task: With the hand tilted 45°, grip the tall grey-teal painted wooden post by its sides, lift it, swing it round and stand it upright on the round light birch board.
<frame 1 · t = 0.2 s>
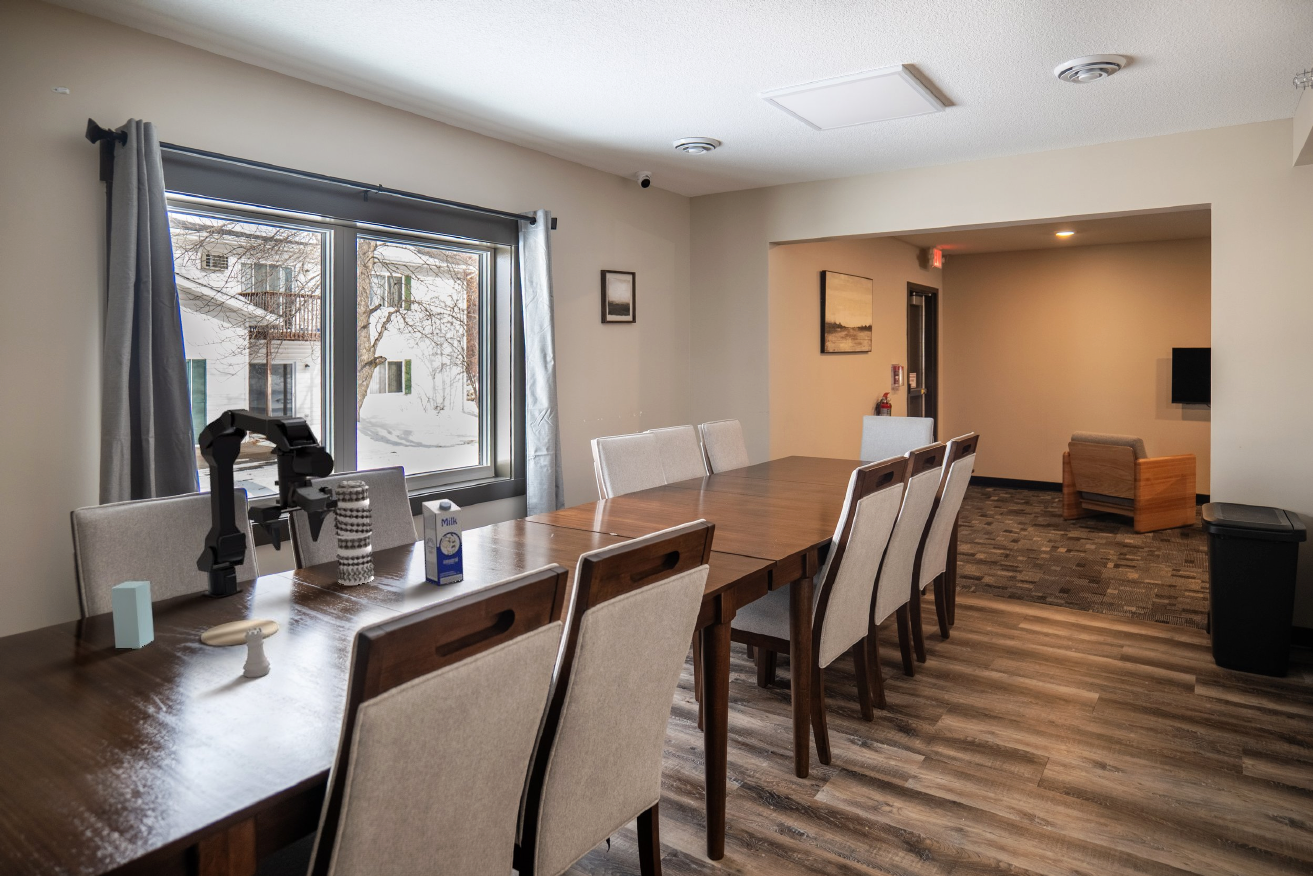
hand: (297, 546, 178), 15 cm above the table, tool pointing down, fingers open, 9 cm apart
teal post: (135, 644, 159), on the table
milk carton: (444, 581, 202), on the table
patterned cylinder tower: (355, 581, 203), on the table
board: (240, 633, 165), on the table
rook chess piece: (257, 674, 144), on the table
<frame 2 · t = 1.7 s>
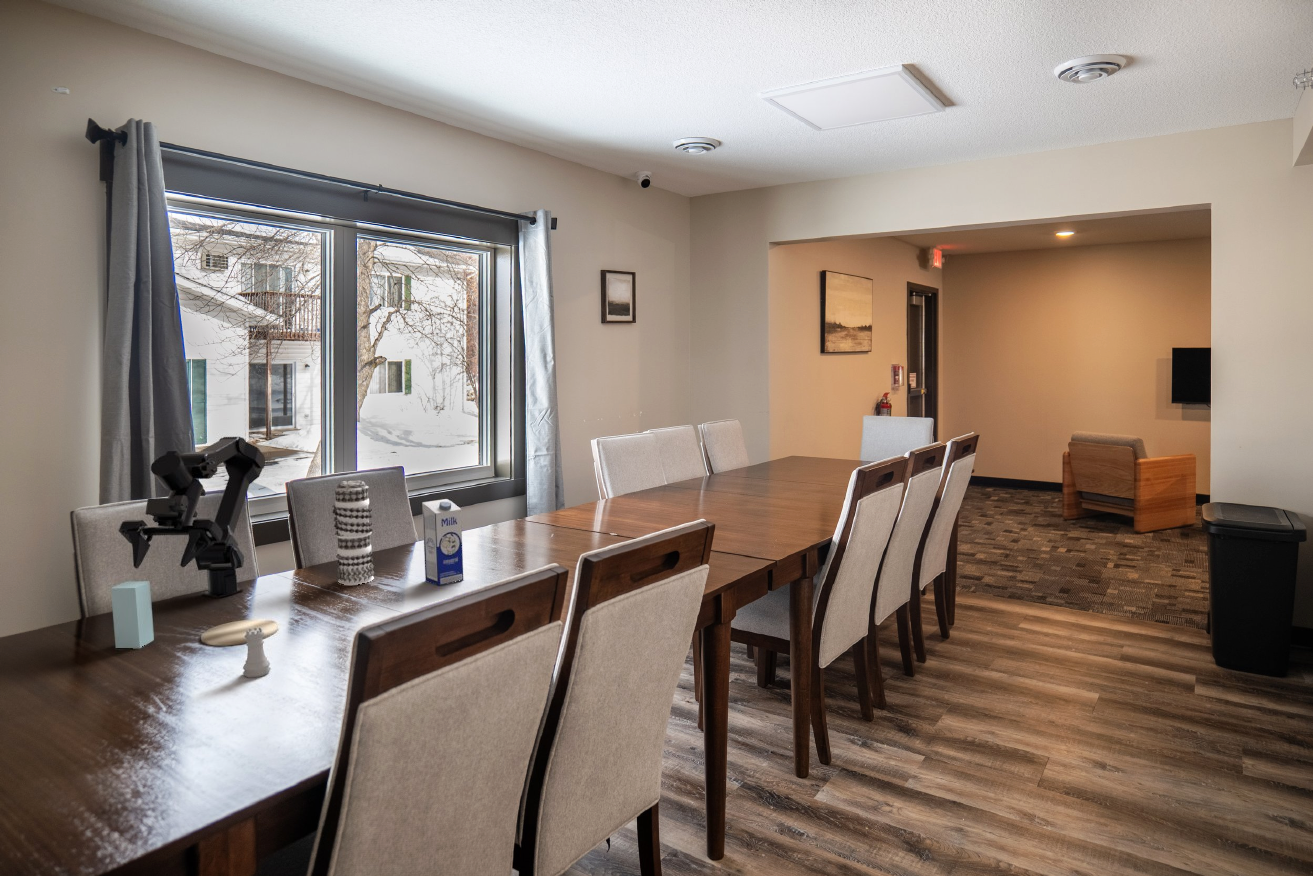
hand: (158, 567, 166), 13 cm above the table, tool tilted 45°, fingers open, 9 cm apart
nothing on the table moved.
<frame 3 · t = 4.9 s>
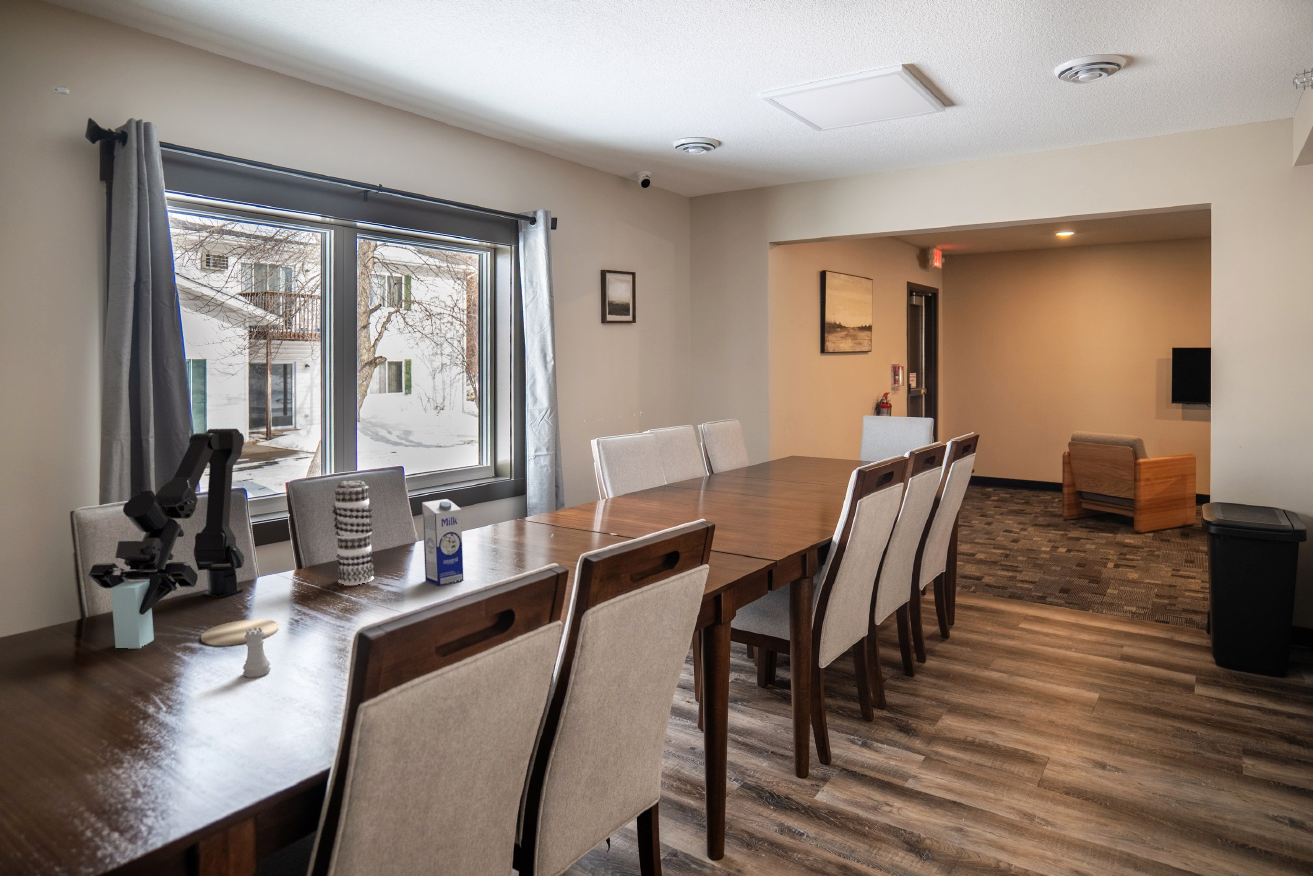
hand: (128, 613, 157), 7 cm above the table, tool tilted 45°, fingers closed on teal post, 5 cm apart
teal post: (135, 644, 159), on the table, touching gripper
everything else where it was.
when the fingers open (8 cm above the table, at t = 10.5 s): teal post stays where it is, resting on board.
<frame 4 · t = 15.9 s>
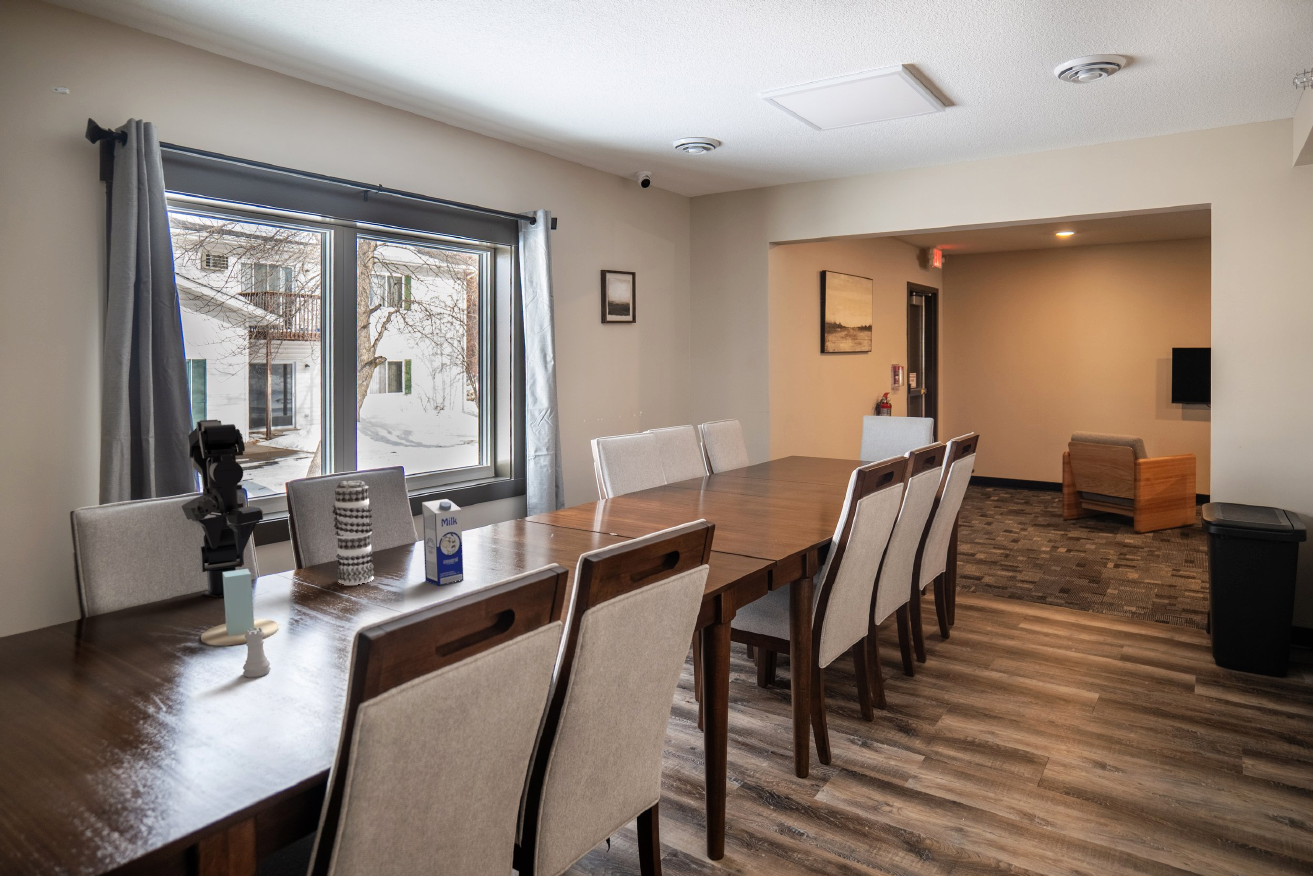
hand: (227, 550, 181), 13 cm above the table, tool pointing down, fingers open, 9 cm apart
teal post: (240, 630, 165), point 1 cm above the table, touching board
everything else where it was.
at the end: teal post inside the target area on the board (0.1 cm from its centre), point 0.6 cm above the board's base; teal post tilted 0°; the gripper is holding nothing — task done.
